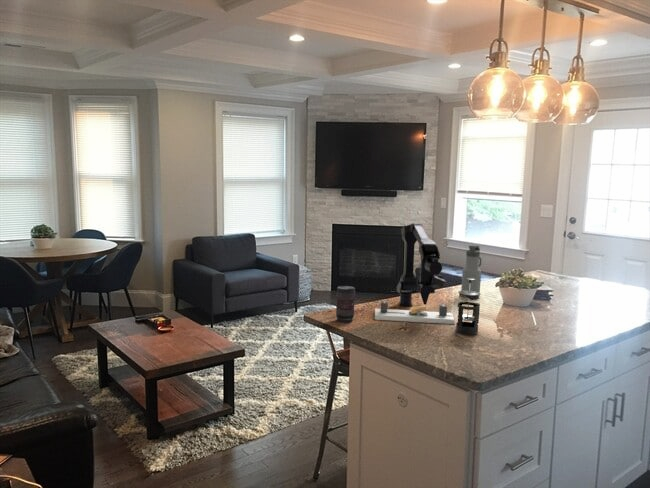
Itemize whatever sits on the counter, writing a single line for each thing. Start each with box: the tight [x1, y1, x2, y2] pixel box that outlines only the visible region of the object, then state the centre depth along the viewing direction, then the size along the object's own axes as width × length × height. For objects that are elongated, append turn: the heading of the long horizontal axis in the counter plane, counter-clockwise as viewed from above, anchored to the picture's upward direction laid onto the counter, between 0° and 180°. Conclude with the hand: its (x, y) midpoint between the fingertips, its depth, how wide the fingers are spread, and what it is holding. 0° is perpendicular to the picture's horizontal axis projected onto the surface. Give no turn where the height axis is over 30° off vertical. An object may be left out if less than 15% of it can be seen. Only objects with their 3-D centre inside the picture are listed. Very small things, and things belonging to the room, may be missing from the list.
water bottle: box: [460, 244, 482, 299], centre depth 295 cm, size 10×10×28 cm
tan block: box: [409, 304, 428, 314], centre depth 248 cm, size 5×7×2 cm
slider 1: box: [380, 301, 389, 312], centre depth 249 cm, size 3×3×4 cm
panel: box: [374, 308, 455, 325], centre depth 248 cm, size 12×35×4 cm, turn 84°
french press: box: [454, 278, 481, 336], centre depth 228 cm, size 12×9×23 cm
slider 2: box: [438, 304, 448, 316], centre depth 247 cm, size 3×3×4 cm
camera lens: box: [335, 285, 356, 324], centre depth 240 cm, size 8×8×15 cm
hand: (424, 304), depth 247 cm, fingers closed
